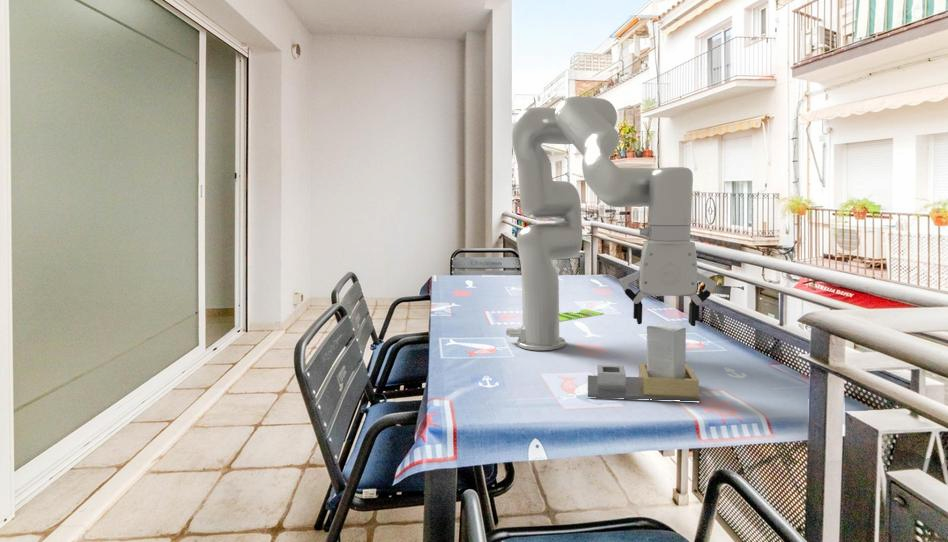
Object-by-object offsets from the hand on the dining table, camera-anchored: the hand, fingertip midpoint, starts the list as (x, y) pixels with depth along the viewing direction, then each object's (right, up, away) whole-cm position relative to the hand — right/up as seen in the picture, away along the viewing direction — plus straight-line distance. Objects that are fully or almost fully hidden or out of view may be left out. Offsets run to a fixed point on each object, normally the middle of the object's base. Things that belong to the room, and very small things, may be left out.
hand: (665, 323), depth 101 cm
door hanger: (-7, -5, +70) cm, 71 cm away
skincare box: (0, -13, +1) cm, 13 cm away
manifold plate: (-4, -13, +2) cm, 14 cm away
